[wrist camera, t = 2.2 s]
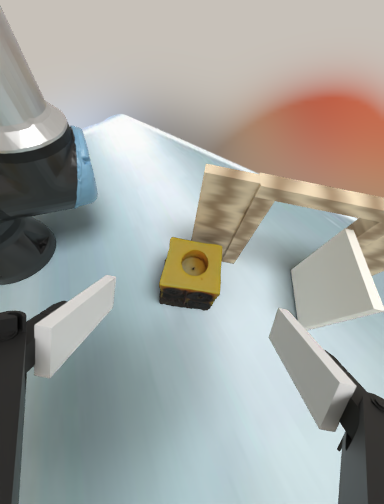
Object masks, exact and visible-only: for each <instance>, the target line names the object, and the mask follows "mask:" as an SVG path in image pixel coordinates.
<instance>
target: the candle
mask: <svg viewBox="0 0 384 504" xmlns="http://www.w3.org/2000/svg"><path fill="white" fill-rule="evenodd" d="M221 261H222V246H221V245H217V244H207V243H201V242H195V241H189V240H184V239H180V238H175V237H172V238H171V239H170V247H169V251H168V255H167V259H166V260H165V266H164V269H163V272H162V275H161V279H160V282H159V287H160V290H161V291H160V303H161V304H166V305H171V306H178V307H186V308H191V309H192V308H195V309H202V310H208V309H210V307H211V306H212V304H213V302H214V301H215V299H216V298H217V297H218V296H219V295H220V284H221Z"/></svg>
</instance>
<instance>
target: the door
mask: <svg viewBox="0 0 384 504" xmlns="http://www.w3.org/2000/svg"><path fill="white" fill-rule="evenodd" d="M291 275H292V282H293V289H294V296H295V304H296V311H297V318H298V322H299V323H300V324H301V325H302V326H303V327H304V328H305V329H306V331H307V330H311V329H315V328H319V327H323V326H327V325H331V324H335V323H339V322H343V321H347V320H351V319H356V318H360V317H364V316H368V315H372V314H376V313H380V312H384V307H383V304H382V302H381V299H380V297H379V294H378V291H377V289H376V286H375V284H374V281H373V279H372V276H371V273H370V271H369V268H368V266H367V263H366V261H365V258H364V256H363V253H362V250H361V248H360V245H359V243H358V240H357V238H356V235H355V232H354V230H351V229H346V228H345V229H343V230H342V231H341V232H339V233H338V234H337V235H335V236H334V237H333V238H332V239H330V240H329V241H328V242H326V243H325V244H324V245H323V246H321V247H320V248H319V249H317V250H316V251H315V252H313V253H312V254H311V255H310V256H308V257H307V258H306V259H304V260H303V261H302V262H301V263H299V264H298V265H297V266H295V267H294V268H293V269H291Z"/></svg>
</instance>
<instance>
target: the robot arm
mask: <svg viewBox="0 0 384 504" xmlns="http://www.w3.org/2000/svg"><path fill="white" fill-rule="evenodd" d="M97 196H98V193H97V187H96V182H95V178H94V173H93V169H92V165H91V162H90V157H89V153H88V149H87V145H86V141H85V138H84V134H83V131H82V130H81V129H80V128H78V127H75V126H70V127H69V125H68V122H67V119H66V117H65V115H64V114H63V113H62V112H61V111H60V110H59V109H57V108H56V107H54V106H53V105H51V104H50V103H48V102H46V101H45V100H44V98H43V96H42V94H41V92H40V90H39V87H38V85H37V83H36V81H35V79H34V76H33V74H32V72H31V70H30V68H29V66H28V64H27V62H26V59H25V58H24V55H23V53H22V51H21V49H20V47H19V44H18V42H17V40H16V38H15V36H14V34H13V32H12V30H11V27H10V25H9V23H8V21H7V19H6V17H5V15H4V12H3V10H2V8H1V6H0V285H2V284H9V283H14V282H17V281H20V280H23V279H25V278H27V277H29V276H31V275H33V274H34V273H36V272H37V271H39V270H40V269H41V268H42V267H44V266H45V265H46V263H47V262H48V261H49V260H50V258H51V257H52V255H53V253H54V251H55V247H56V240H55V237H54V235H53V233H52V232H51V231H50V230H49V229H48V227H47V226H46V225H44V224H43V223H42V222H40V221H38V220H36V219H34V218H32V217H30V216H35V215H40V214H45V213H51V212H56V211H61V210H66V209H72V208H74V209H75V208H77V207H78V206H82V205H86V204H90V203H92V202H94V201H95V200H96V199H97ZM115 283H116V277H115V276H110V275H106V276H104V277H103V278H101V279H100V280H99V281H97V282H96V283H94V284H93V285H91V286H90V287H88V288H87V289H86V290H84V291H83V292H81V293H80V294H78V295H77V296H75V297H74V298H73V299H71V300H70V301H68V302H67V301H61V302H59V303H56V304H53V305H52V306H50V307H49V308H47V309H46V310H44V311H42V312H41V313H40V314H38V315H36V316H35V317H33V318H31V319H30V320H28V321H27V322H26V314H25V313H23V312H21V311H6V312H1V313H0V504H18V503H19V488H20V472H21V457H22V441H23V426H24V410H25V395H26V379H27V372H28V371H29V370H30V369H31V368H32V367H33V366H34V375H35V376H40V377H45V378H51V377H52V376H53V375H54V373H55V372H56V371H57V370H58V369H59V368H60V367H61V366H62V364H63V363H64V362H65V361H66V360H67V359H68V358H69V357H70V355H71V354H72V353H73V352H74V351H75V350H76V349H77V348H78V346H79V345H80V344H81V343H82V342H83V341H84V340H85V339H86V337H87V336H88V335H89V334H90V333H91V332H92V331H93V330H94V328H95V327H96V326H97V325H98V324H99V323H100V322H101V321H102V319H103V318H104V317H105V316H106V315H107V314H108V313H109V312H110V310H111V309H112V308H113V302H114V292H115ZM269 339H270V341H271V343H272V344H273V346H274V348H275V350H276V352H277V354H278V355H279V357H280V359H281V361H282V363H283V364H284V366H285V368H286V370H287V372H288V373H289V375H290V377H291V379H292V381H293V382H294V384H295V386H296V388H297V390H298V391H299V393H300V395H301V397H302V399H303V400H304V402H305V404H306V406H307V408H308V409H309V411H310V413H311V415H312V417H313V419H314V420H315V422H316V424H317V426H318V428H319V429H321V430H327V431H332V432H335V431H336V429H337V427H338V425H339V422H340V423H341V425H342V426H343V428H344V429H345V431H346V432H345V434H344V436H343V438H342V440H341V442H340V444H339V446H338V448H337V450H339V451H340V450H341V449H342V456H341V470H340V484H339V498H338V504H384V399H383V398H381V397H379V396H377V395H375V394H372V393H368V392H367V391H366V390H365V389H364V388H363V387H362V386H361V385H360V384H359V383H358V382H357V381H356V380H355V379H354V377H353V376H352V375H351V374H350V373H349V372H347V370H346V369H345V368H344V367H343V366H342V365H341V363H340V362H339V361H338V360H337V359H336V358H335V357H334V356H332V355H331V354H330V353H328V352H327V351H326V350H324V349H323V348H322V347H321V346H320V345H319V344H318V343H317V342H316V341H315V339H314V338H313V337H312V336H311V335H310V334H309V333H308V332H307V331H306V329H305V328H304V327H303V326H302V325H301V324H300V323H299V322H298V321H297V320H296V318H295V317H294V316H293V315H292V314H291V313H290V312H289V311H288V310H286V309H281V308H278V310H277V313H276V317H275V320H274V323H273V326H272V329H271V332H270V335H269Z"/></svg>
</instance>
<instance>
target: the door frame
mask: <svg viewBox="0 0 384 504" xmlns="http://www.w3.org/2000/svg"><path fill="white" fill-rule="evenodd" d="M274 201H278V202H283V203H288V204H292V205H297V206H302V207H307V208H312V209H317V210H322V211H327V212H332V213H337V214H342V215H347V216H352V217H357V218H359V219H357V220H356V221H355V222H354V223H352V224H351V225H350V226H348V227H347V228H346V229H351V230H354V232H355V235H356V238H357V240H358V243H359V245H360V248H361V250H362V253H363V256H364V258H365V261H366V263H367V266H368V268H369V271H370V273H371V276H373V275H375V274H377V273H380V272H382V271H384V198H383V197H377V196H373V195H368V194H363V193H358V192H353V191H348V190H343V189H338V188H333V187H328V186H323V185H318V184H314V183H308V182H303V181H299V180H294V179H289V178H284V177H279V176H274V175H269V174H264V173H260V174H254V173H249V172H244V171H239V170H234V169H229V168H224V167H220V166H215V165H210V164H206V167H205V172H204V177H203V182H202V187H201V193H200V198H199V203H198V208H197V213H196V219H195V224H194V229H193V234H192V240H191V241H195V242H201V243H207V244H217V245H221V246H222V262H227V263H233V264H234V263H235V261H236V260H237V258H238V257H239V255H240V253H241V252H242V250H243V249H244V247H245V246H246V244H247V243H248V241H249V240H250V238H251V237H252V235H253V234H254V232H255V230H256V229H257V227H258V226H259V224H260V223H261V221H262V220H263V218H264V217H265V215H266V214H267V212H268V211H269V209H270V208H271V206H272V204H273V203H274Z"/></svg>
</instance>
